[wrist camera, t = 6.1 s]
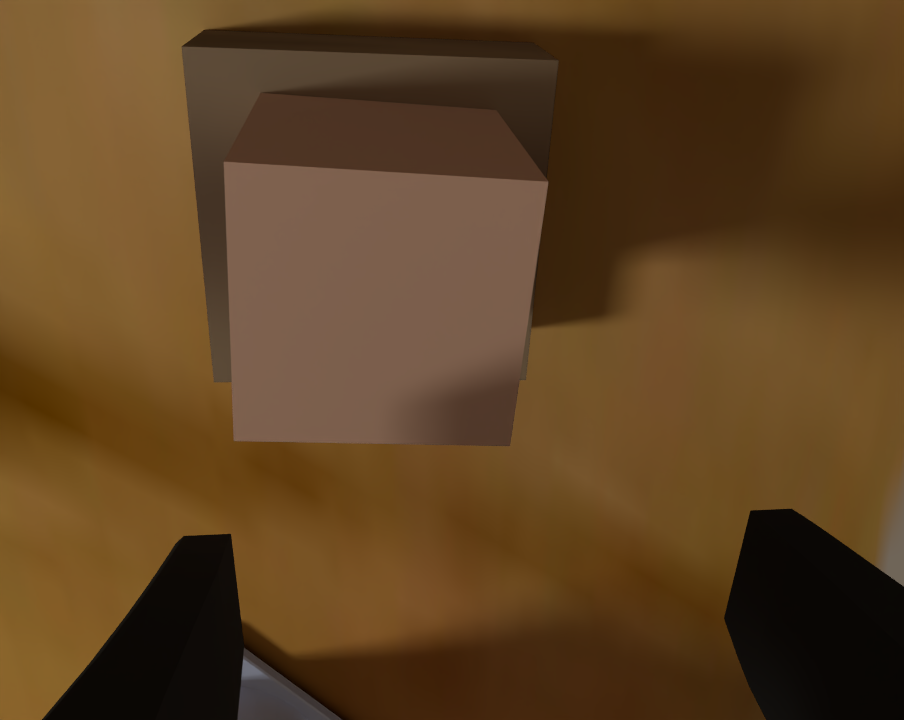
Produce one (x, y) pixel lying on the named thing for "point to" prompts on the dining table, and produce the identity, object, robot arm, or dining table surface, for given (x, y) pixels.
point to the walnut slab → (345, 77)
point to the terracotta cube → (378, 271)
